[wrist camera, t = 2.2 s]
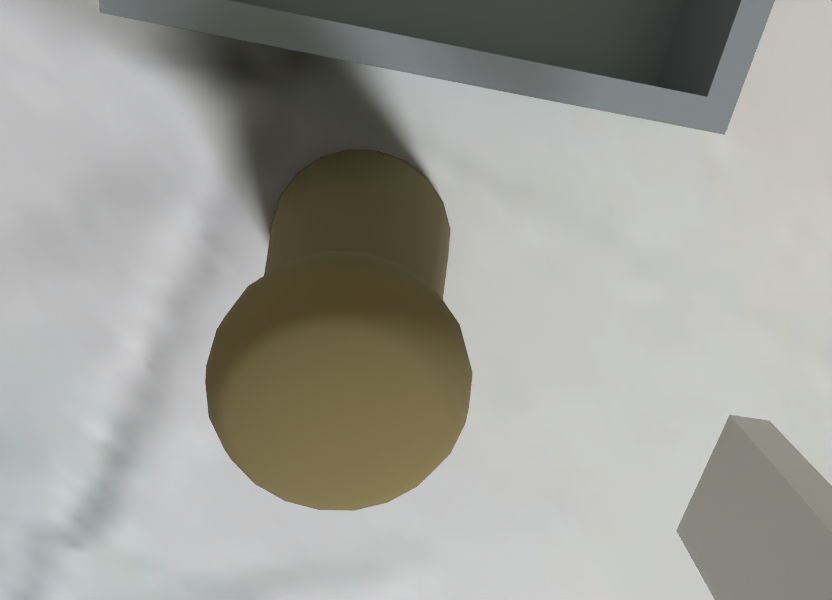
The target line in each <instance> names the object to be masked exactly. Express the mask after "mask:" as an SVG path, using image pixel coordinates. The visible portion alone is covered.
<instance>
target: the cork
mask: <svg viewBox="0 0 832 600" xmlns="http://www.w3.org/2000/svg"><path fill="white" fill-rule="evenodd" d="M449 239H450V227H449V223H448V219H447V215H446V211H445V207H444V203H443V202H442V200H441V199H440V197H439V195H438V194H437V192H436V191H435V189H434V188H433V186H432V185H431V183H430V181H429V180H428V179H427V178H426V177H424V176H423V175H422V174H421V173H419V172H418V171H417V170H416V169H414V168H413V167H412V166H411V165H409V164H408V163H407V162H405V161H403V160H400V159H398V158H395V157H392V156H390V155H387V154H385V153H382V152H379V151H364V150H346V151H343V152H339V153H335V154H332V155H328V156H325V157H321V158H319V159H318V160H316V161H315V162H314V163H312V164H311V165H309V166H308V167H306V168H305V169H303V170H302V171H300V172H299V173H297V175H296V176H295V177H294V179H293V180H292V181H291V183H290V184H289V185H288V187H287V188H286V189H285V191H284V192H283V194H282V195H281V196H280V200H279V203H278V206H277V210H276V213H275V216H274V219H273V223H272V229H271V236H270V242H269V248H268V255H267V261H266V267H265V274H264V276H263V277H262V278H260V279H259V280H257V281H256V282H254V283H252V284H251V285H249V286H248V287H247V288H246V290H245V291H244V292H243V294H242V295H241V296H240V298H239V299H238V300H237V302H236V303H235V304H234V305H233V307H232V308H231V309H230V311H229V312H228V313H227V315H226V316H225V318H224V319H223V321H222V322H221V324H220V325H219V327H218V328H217V331H216V334H215V337H214V341H213V344H212V348H211V351H210V355H209V358H208V362H207V365H206V381H205V382H206V392H207V403H208V413H209V418H210V420H211V422H212V424H213V426H214V429H215V431H216V433H217V435H218V437H219V439H220V441H221V443H222V445H223V447H224V449H225V451H226V452H227V454H228V455H229V457H230V458H231V460H232V461H233V462H234V463H235V464H236V465H237V466H238V467H239V468H240V469H241V470H242V471H243V472H244V473H245V474H246V475H247V476H248V477H249V478H250V479H251V480H252V481H253V482H254V483H255V484H256V485H258V486H260V487H261V488H263V489H265V490H267V491H269V492H270V493H272V494H274V495H276V496H277V497H279V498H281V499H283V500H284V501H288V502H291V503H295V504H299V505H303V506H306V507H310V508H314V509H318V510H357V509H362V508H366V507H370V506H374V505H379V504H383V503H387V502H389V501H391V500H393V499H395V498H397V497H398V496H400V495H402V494H404V493H406V492H408V491H410V490H411V489H413V488H415V487H417V486H418V485H419V484H420V483H421V482H422V481H423V480H424V479H425V478H426V477H427V476H428V475H429V474H430V473H431V472H432V471H433V470H434V469H435V468H436V467H437V466H438V465H439V464H440V463H441V462H442V461H443V460H444V459H445V458H446V457H447V456H448V455H449V454H450V453H451V451H452V449H453V447H454V445H455V443H456V441H457V439H458V437H459V435H460V433H461V431H462V429H463V427H464V425H465V423H466V418H467V413H468V409H469V400H470V391H471V381H472V370H471V366H470V362H469V358H468V355H467V351H466V347H465V343H464V339H463V336H462V332H461V328H460V325H459V323H458V322H457V320H456V319H455V317H454V316H453V314H452V313H451V312H450V310H449V309H448V307H447V306H446V304H445V303H444V301H443V293H444V285H445V277H446V269H447V261H448V252H449Z"/></svg>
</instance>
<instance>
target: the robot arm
mask: <svg viewBox="0 0 832 600" xmlns="http://www.w3.org/2000/svg"><path fill="white" fill-rule="evenodd" d="M677 532H678V534H679V536H680V538H681V540H682V541H683V543H684V545H685V547H686V549H687V550H688V552H689V554H690V556H691V558H692V559H693V561H694V563H695V565H696V567H697V568H698V570H699V572H700V574H701V576H702V577H703V579H704V581H705V583H706V585H707V586H708V588H709V590H710V592H711V594H712V595H713V597H714V599H715V600H832V486H831V485H830V484H829V483H828V482H827V481H826V480H825V479H824V478H823V476H822V475H821V474H820V473H819V472H818V471H817V470H816V469H815V468H814V467H813V466H812V465H811V464H810V463H809V462H808V461H807V460H806V459H805V458H804V457H803V456H802V454H801V453H800V452H799V451H798V450H797V449H796V448H795V447H794V446H793V445H792V444H791V443H790V442H789V441H788V440H787V439H786V438H785V437H784V436H783V435H782V434H781V433H780V431H779V430H778V429H777V428H776V427H775V426H774V425H773V424H772V423H771V422H770V421H767V420H761V419H754V418H747V417H741V416H734V415H730V416H729V418H728V420H727V422H726V424H725V426H724V429H723V431H722V433H721V435H720V437H719V439H718V442H717V444H716V446H715V448H714V450H713V452H712V455H711V457H710V459H709V461H708V463H707V466H706V468H705V470H704V472H703V474H702V476H701V479H700V481H699V483H698V485H697V487H696V489H695V492H694V494H693V496H692V498H691V500H690V502H689V505H688V507H687V509H686V511H685V513H684V515H683V518H682V520H681V522H680V524H679V526H678V529H677Z"/></svg>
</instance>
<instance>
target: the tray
mask: <svg viewBox="0 0 832 600" xmlns="http://www.w3.org/2000/svg"><path fill="white" fill-rule="evenodd" d="M99 1H100V13H105V14H110V15H115V16H120V17H125V18H130V19H136V20H141V21H146V22H151V23H156V24H161V25H166V26H171V27H177V28H182V29H187V30H192V31H197V32H202V33H207V34H212V35H218V36H223V37H228V38H233V39H238V40H243V41H248V42H253V43H258V44H264V45H269V46H274V47H279V48H284V49H289V50H294V51H299V52H305V53H310V54H315V55H320V56H325V57H330V58H335V59H340V60H346V61H351V62H356V63H361V64H366V65H371V66H376V67H381V68H386V69H392V70H397V71H402V72H407V73H412V74H417V75H422V76H427V77H433V78H438V79H443V80H448V81H453V82H458V83H463V84H468V85H474V86H479V87H484V88H489V89H494V90H499V91H504V92H509V93H514V94H520V95H525V96H530V97H535V98H540V99H545V100H550V101H555V102H561V103H566V104H571V105H576V106H581V107H586V108H591V109H596V110H602V111H607V112H612V113H617V114H622V115H627V116H632V117H637V118H642V119H648V120H653V121H658V122H663V123H668V124H673V125H678V126H683V127H689V128H694V129H699V130H704V131H709V132H714V133H719V134H724V135H725V132H726V130H727V127H728V124H729V122H730V119H731V116H732V114H733V111H734V108H735V106H736V103H737V100H738V98H739V95H740V92H741V89H742V87H743V84H744V81H745V79H746V76H747V73H748V71H749V68H750V65H751V63H752V60H753V57H754V55H755V52H756V49H757V47H758V44H759V41H760V38H761V36H762V33H763V30H764V28H765V25H766V22H767V20H768V17H769V14H770V12H771V9H772V6H773V4H774V1H775V0H99Z"/></svg>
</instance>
